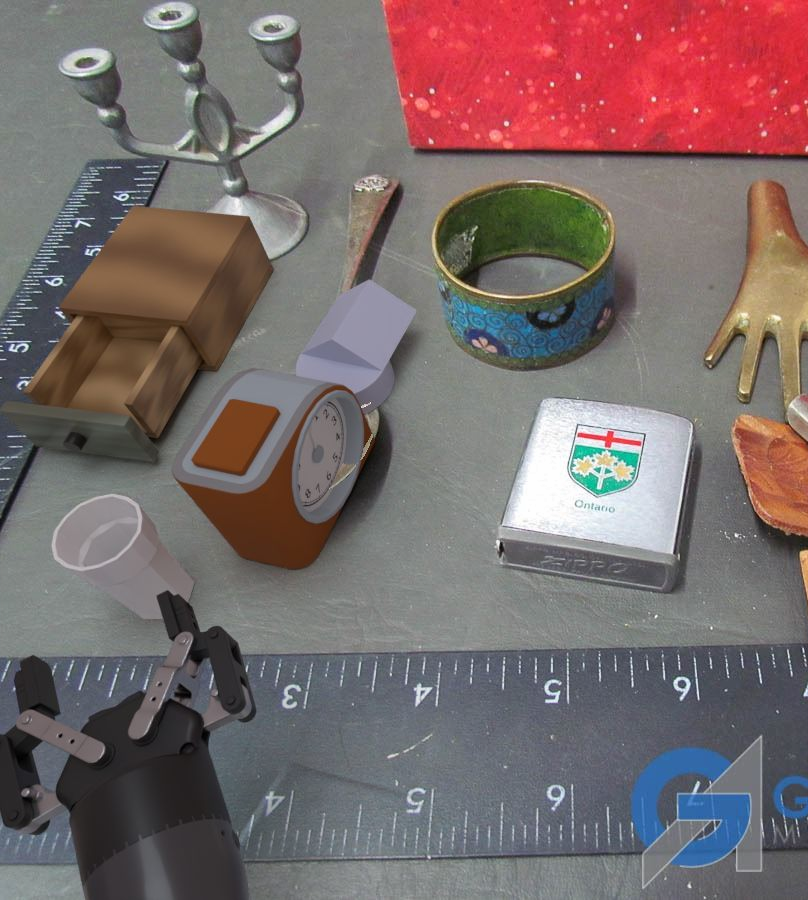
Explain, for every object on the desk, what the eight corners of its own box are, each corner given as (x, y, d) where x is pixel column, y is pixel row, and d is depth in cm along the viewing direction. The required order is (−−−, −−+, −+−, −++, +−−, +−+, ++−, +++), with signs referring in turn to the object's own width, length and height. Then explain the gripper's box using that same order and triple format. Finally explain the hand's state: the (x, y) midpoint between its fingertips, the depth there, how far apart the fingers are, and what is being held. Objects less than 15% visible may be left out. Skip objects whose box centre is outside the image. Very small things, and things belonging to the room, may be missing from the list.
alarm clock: (313, 575, 72) (256, 494, 61) (226, 555, 73) (155, 472, 62) (379, 441, 80) (339, 348, 69) (299, 425, 82) (248, 331, 70)
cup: (168, 640, 69) (99, 583, 60) (107, 612, 71) (32, 552, 62) (218, 574, 72) (160, 510, 63) (159, 548, 74) (95, 483, 65)
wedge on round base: (347, 317, 90) (290, 408, 83) (329, 271, 84) (266, 364, 77) (423, 332, 88) (372, 426, 81) (410, 287, 83) (353, 383, 76)
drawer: (148, 472, 78) (117, 436, 73) (29, 457, 79) (-9, 421, 74) (217, 349, 87) (194, 310, 82) (109, 337, 88) (80, 298, 83)
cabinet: (217, 371, 86) (185, 321, 80) (98, 358, 87) (57, 307, 81) (274, 268, 95) (249, 216, 88) (164, 258, 96) (132, 205, 90)
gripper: (262, 777, 44) (184, 550, 53) (-18, 934, 40) (-54, 663, 49) (307, 807, 50) (232, 599, 59) (68, 946, 47) (23, 703, 55)
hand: (102, 628), depth 54 cm, fingers open, 8 cm apart
